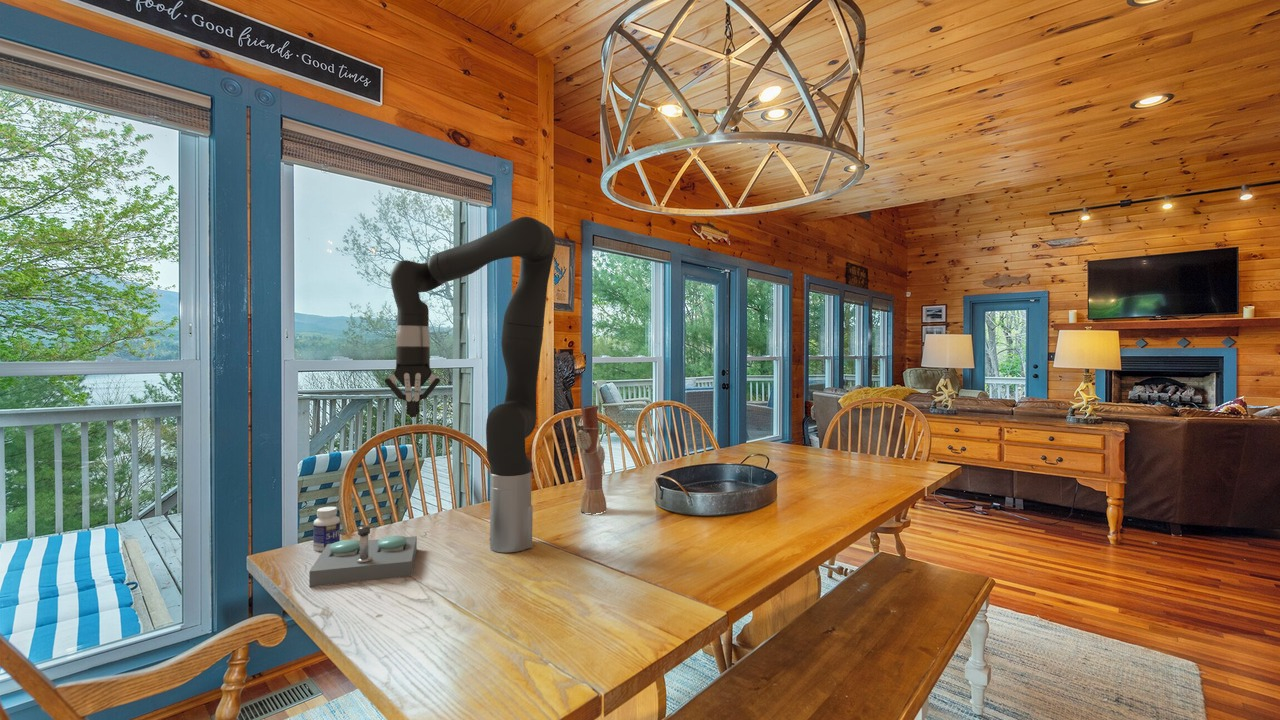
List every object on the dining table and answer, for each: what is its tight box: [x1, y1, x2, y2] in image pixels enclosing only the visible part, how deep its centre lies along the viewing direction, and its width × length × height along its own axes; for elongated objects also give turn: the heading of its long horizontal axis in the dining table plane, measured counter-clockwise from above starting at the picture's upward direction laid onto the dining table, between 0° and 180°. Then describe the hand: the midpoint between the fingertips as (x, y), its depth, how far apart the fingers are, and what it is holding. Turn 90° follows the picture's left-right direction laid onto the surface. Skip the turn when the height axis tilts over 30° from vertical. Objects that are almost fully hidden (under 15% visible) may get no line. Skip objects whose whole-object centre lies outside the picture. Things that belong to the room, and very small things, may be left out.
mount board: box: [308, 535, 418, 588], centre depth 118 cm, size 18×16×3 cm
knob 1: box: [330, 539, 360, 556], centre depth 119 cm, size 6×6×4 cm
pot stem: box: [356, 525, 372, 563], centre depth 113 cm, size 3×3×7 cm
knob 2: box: [377, 535, 407, 552], centre depth 121 cm, size 6×6×4 cm
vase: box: [576, 404, 607, 514], centre depth 159 cm, size 10×7×30 cm
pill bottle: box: [312, 506, 341, 552], centre depth 129 cm, size 5×5×9 cm
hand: (412, 416), depth 137 cm, fingers closed
